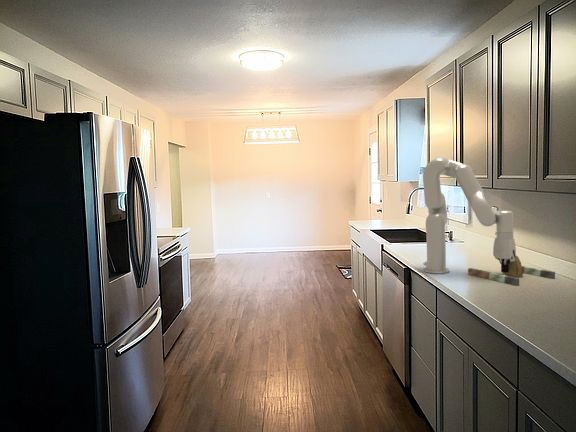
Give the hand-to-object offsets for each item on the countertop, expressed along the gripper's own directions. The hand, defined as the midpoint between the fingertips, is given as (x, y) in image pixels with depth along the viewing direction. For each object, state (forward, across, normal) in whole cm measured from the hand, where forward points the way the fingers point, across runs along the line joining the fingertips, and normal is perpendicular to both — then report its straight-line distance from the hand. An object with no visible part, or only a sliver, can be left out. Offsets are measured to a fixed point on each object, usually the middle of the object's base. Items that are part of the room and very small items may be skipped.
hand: (504, 271), depth 221 cm
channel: (+2, +3, 0) cm, 3 cm away
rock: (+2, +2, +3) cm, 4 cm away
